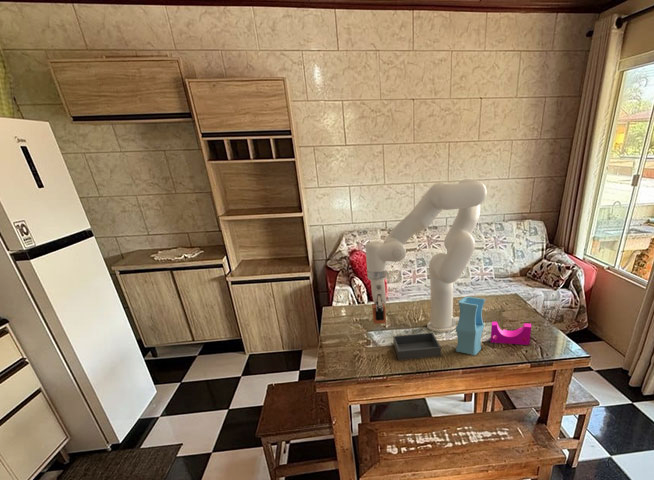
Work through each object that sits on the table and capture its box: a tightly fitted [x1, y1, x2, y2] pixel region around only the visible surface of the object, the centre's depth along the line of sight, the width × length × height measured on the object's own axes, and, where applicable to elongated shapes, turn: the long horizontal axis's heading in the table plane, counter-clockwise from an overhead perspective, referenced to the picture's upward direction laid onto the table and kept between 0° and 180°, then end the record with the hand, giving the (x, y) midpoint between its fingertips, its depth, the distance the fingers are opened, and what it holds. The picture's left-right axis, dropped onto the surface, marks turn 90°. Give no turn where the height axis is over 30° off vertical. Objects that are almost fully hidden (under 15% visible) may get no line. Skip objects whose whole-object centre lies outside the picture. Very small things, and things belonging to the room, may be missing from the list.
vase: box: [455, 296, 486, 356], centre depth 153 cm, size 8×8×20 cm
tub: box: [392, 332, 442, 361], centre depth 158 cm, size 16×14×4 cm
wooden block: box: [371, 302, 387, 325], centre depth 170 cm, size 5×5×7 cm
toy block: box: [490, 321, 532, 346], centre depth 163 cm, size 15×6×8 cm, turn 76°
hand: (379, 316), depth 170 cm, fingers closed on wooden block, 5 cm apart
